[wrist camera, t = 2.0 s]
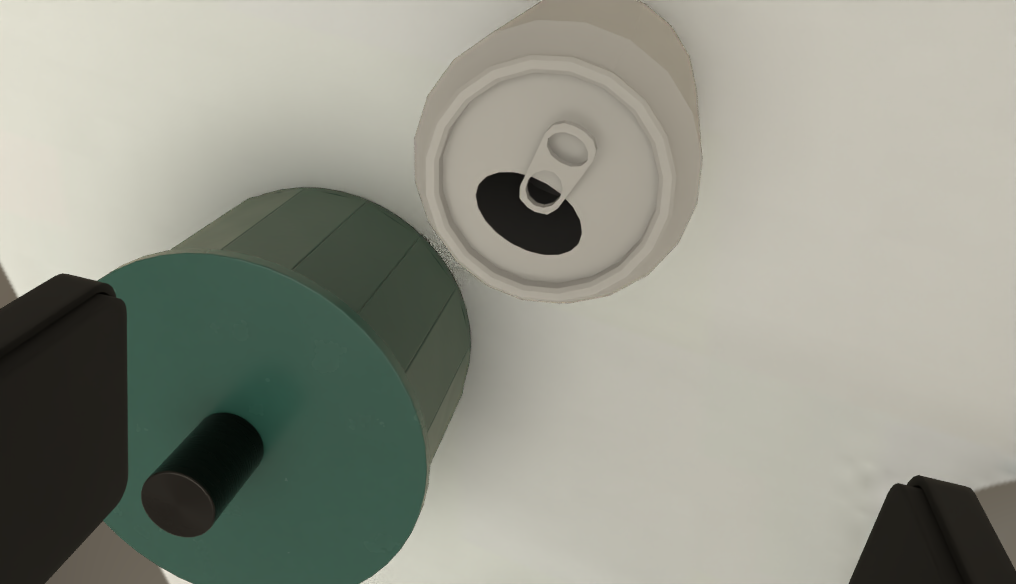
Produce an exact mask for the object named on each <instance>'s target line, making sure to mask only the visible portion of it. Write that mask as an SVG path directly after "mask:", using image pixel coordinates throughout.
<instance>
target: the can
mask: <svg viewBox="0 0 1016 584" xmlns="http://www.w3.org/2000/svg"><path fill="white" fill-rule="evenodd" d="M414 145H415V183H416V186H417V189H418V192H419V195H420V198H421V201H422V204H423V207H424V210H425V213H426V216H427V219H428V222H429V223H430V225H431V226H432V228H433V229H434V231H435V232H436V233H437V235H438V236H439V238H440V239H441V240H442V242H443V243H444V245H445V246H446V248H447V249H448V250H449V252H450V253H451V255H452V256H453V257H454V259H455V260H456V261H457V262H458V263H459V264H460V265H461V266H463V267H464V268H465V269H466V270H468V271H469V272H470V273H471V274H473V275H474V276H475V277H477V278H478V279H479V280H480V281H482V282H483V283H484V284H485V285H487V286H489V287H492V288H494V289H497V290H499V291H501V292H504V293H506V294H509V295H511V296H514V297H516V298H519V299H521V300H530V301H540V302H550V303H574V302H579V301H584V300H589V299H594V298H599V297H604V296H609V295H612V294H614V293H615V292H617V291H619V290H621V289H623V288H625V287H627V286H628V285H630V284H632V283H634V282H636V281H638V280H640V279H641V278H643V277H645V276H647V275H648V274H649V273H650V272H651V271H652V270H653V269H654V268H655V267H656V266H657V265H658V264H659V263H660V262H661V261H662V260H663V259H664V258H665V257H666V256H667V255H668V254H669V253H670V251H671V250H672V249H673V248H674V247H675V246H676V245H677V244H678V243H679V241H680V239H681V236H682V234H683V232H684V230H685V228H686V226H687V224H688V222H689V220H690V217H691V215H692V213H693V211H694V209H695V207H696V205H697V200H698V192H699V183H700V175H701V166H702V148H701V136H700V124H699V113H698V101H697V90H696V85H695V80H694V76H693V71H692V66H691V62H690V57H689V55H688V53H687V52H686V50H685V48H684V47H683V45H682V43H681V41H680V40H679V38H678V36H677V35H676V33H675V31H674V30H673V28H672V26H670V25H669V24H668V23H667V22H666V21H665V20H663V19H662V18H661V17H660V16H659V15H658V14H656V13H655V12H654V11H653V10H652V9H651V8H649V7H648V6H647V5H646V4H644V3H642V2H639V1H637V0H543V1H541V2H540V3H538V4H537V5H535V6H534V7H532V8H530V9H529V10H527V11H526V12H524V13H522V14H521V15H519V16H518V17H516V18H515V19H513V20H511V21H510V22H508V23H507V24H505V25H503V26H502V27H500V28H499V29H497V30H496V31H494V32H492V33H491V34H489V35H488V36H487V37H485V38H484V39H482V40H481V41H480V42H478V43H477V44H475V45H474V46H472V47H471V48H470V49H468V50H467V51H465V52H464V53H462V54H461V55H460V56H458V57H457V58H455V59H454V60H453V61H452V63H451V64H450V66H449V67H448V68H447V70H446V71H445V72H444V74H443V75H442V77H441V78H440V79H439V81H438V82H437V83H436V85H435V86H434V88H433V89H432V90H431V92H430V93H429V94H428V96H427V99H426V102H425V105H424V109H423V112H422V115H421V118H420V121H419V125H418V128H417V131H416V134H415V138H414Z"/></svg>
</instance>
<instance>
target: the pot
mask: <svg viewBox="0 0 1016 584" xmlns="http://www.w3.org/2000/svg"><path fill="white" fill-rule="evenodd" d="M189 248H200V249H220V250H226V251H232V252H238V253H244V254H248V255H251V256H255V257H258V258H262V259H265V260H268V261H272V262H274V263H277V264H279V265H281V266H284V267H286V268H288V269H291V270H293V271H295V272H298V273H300V274H301V275H303V276H305V277H307V278H308V279H310V280H312V281H314V282H315V283H317V284H319V285H321V286H322V287H324V288H326V289H327V290H328V291H330V292H331V293H332V294H334V295H335V296H337V297H338V298H339V299H341V300H342V301H343V302H345V303H346V304H347V305H349V306H350V307H351V308H352V309H353V310H354V311H355V312H356V313H357V314H358V315H360V316H361V317H362V318H363V319H364V320H365V321H366V322H367V323H368V324H369V325H370V326H371V327H372V328H373V329H374V331H375V332H376V333H377V334H378V335H379V336H380V338H381V339H382V340H383V341H384V342H385V343H386V344H387V346H388V347H389V349H390V350H391V352H392V353H393V354H394V356H395V357H396V359H397V360H398V362H399V363H400V365H401V366H402V368H403V370H404V372H405V373H406V375H407V377H408V379H409V381H410V383H411V385H412V387H413V389H414V391H415V394H416V396H417V399H418V402H419V405H420V407H421V410H422V413H423V416H424V420H425V425H426V430H427V434H428V439H429V452H430V464H431V462H432V459H433V457H434V455H435V453H436V451H437V449H438V446H439V444H440V442H441V440H442V438H443V435H444V433H445V431H446V429H447V427H448V424H449V422H450V420H451V418H452V416H453V413H454V411H455V409H456V407H457V405H458V402H459V400H460V398H461V396H462V393H463V387H464V382H465V378H466V374H467V370H468V366H469V360H470V350H471V341H470V327H469V321H468V316H467V311H466V308H465V305H464V302H463V298H462V295H461V292H460V290H459V288H458V286H457V284H456V282H455V280H454V278H453V276H452V274H451V272H450V271H449V269H448V268H447V266H446V265H445V263H444V262H443V260H442V258H441V257H440V256H439V255H438V253H437V252H436V251H435V250H434V249H433V247H432V246H431V245H430V244H429V243H428V242H427V241H426V240H425V239H424V238H423V237H422V236H421V235H420V234H419V233H418V232H417V231H416V230H415V229H414V228H413V227H411V226H410V225H409V224H407V223H406V222H405V221H403V220H402V219H401V218H399V217H398V216H397V215H395V214H393V213H391V212H390V211H388V210H386V209H385V208H383V207H381V206H379V205H377V204H375V203H373V202H370V201H368V200H366V199H363V198H361V197H358V196H355V195H351V194H348V193H344V192H341V191H336V190H329V189H323V188H291V189H282V190H278V191H274V192H270V193H266V194H263V195H261V196H258V197H252V198H249V199H247V200H245V201H244V202H242V203H241V204H239V205H238V206H236V207H235V208H233V209H232V210H230V211H229V212H227V213H226V214H224V215H223V216H221V217H219V218H218V219H216V220H215V221H213V222H212V223H210V224H209V225H207V226H206V227H204V228H203V229H201V230H200V231H198V232H197V233H195V234H194V235H192V236H191V237H189V238H188V239H186V240H185V241H183V242H182V243H180V244H179V245H177V246H176V247H174V248H172V249H171V250H179V249H189Z"/></svg>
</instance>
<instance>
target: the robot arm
mask: <svg viewBox="0 0 1016 584" xmlns="http://www.w3.org/2000/svg"><path fill="white" fill-rule="evenodd" d="M127 482H128V382H127V310H126V305H125V303H124V301H123V300H122V299H120V298H116V294H115V291H114V289H113V287H112V286H110V285H109V284H107V283H103V282H99V281H95V280H90V279H86V278H82V277H78V276H73V275H69V274H63V273H62V274H59V275H57V276H54V277H53V278H51V279H49V280H48V281H46V282H44V283H43V284H41V285H39V286H38V287H36V288H34V289H33V290H31V291H29V292H28V293H26V294H24V295H23V296H21V297H19V298H18V299H16V300H14V301H12V302H11V303H9V304H7V305H6V306H4V307H3V308H1V309H0V584H45V583H46V582H47V581H48V580H49V578H50V577H51V576H52V575H53V574H54V573H55V572H56V571H57V570H58V569H59V568H60V567H61V565H62V564H63V563H64V562H65V561H66V560H67V559H68V558H69V557H70V556H71V555H72V554H73V553H74V551H75V550H76V549H77V548H78V547H79V546H80V545H81V544H82V543H83V542H84V541H85V540H86V538H87V537H88V536H89V535H90V534H91V533H92V532H93V531H94V530H95V529H96V528H97V527H98V526H99V524H100V523H101V522H102V521H103V520H104V519H105V518H106V517H107V516H108V515H109V514H110V513H111V511H112V510H113V509H114V508H115V507H116V506H117V505H118V503H119V502H120V500H121V498H122V497H123V494H124V492H125V489H126V486H127ZM849 584H1016V571H1015V569H1014V567H1013V565H1012V563H1011V561H1010V559H1009V557H1008V556H1007V554H1006V552H1005V550H1004V548H1003V546H1002V544H1001V542H1000V540H999V539H998V536H997V535H996V533H995V531H994V529H993V527H992V525H991V523H990V521H989V519H988V518H987V516H986V514H985V512H984V510H983V508H982V506H981V504H980V502H979V500H978V498H977V497H976V495H975V493H974V492H973V491H972V489H971V488H969V487H966V486H962V485H958V484H953V483H949V482H945V481H941V480H936V479H932V478H928V477H924V476H920V475H917V476H915V477H913V478H912V479H911V480H910V481H909V482H908V484H907V485H903V484H899V483H897V484H894V485H893V486H892V488H891V489H890V491H889V492H888V494H887V497H886V499H885V501H884V503H883V506H882V508H881V510H880V513H879V515H878V517H877V520H876V522H875V524H874V526H873V529H872V531H871V533H870V536H869V538H868V540H867V543H866V545H865V547H864V549H863V552H862V554H861V556H860V559H859V561H858V563H857V566H856V568H855V570H854V572H853V575H852V577H851V579H850V582H849Z"/></svg>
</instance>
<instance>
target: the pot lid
mask: <svg viewBox="0 0 1016 584" xmlns="http://www.w3.org/2000/svg"><path fill="white" fill-rule="evenodd" d="M98 281H99V282H103V283H107V284H109V285H110V286H112V287H113V289H114V291H115V294H116V298H120V299H122V300H123V301H124V303H125V305H126V310H127V382H128V482H127V486H126V489H125V492H124V494H123V497H122V498H121V500H120V502H119V503H118V505H117V506H116V507H115V508H114V509H113V510H112V511H111V513H110V514H109V515H108V516H107V517H106V518H105V519H104V520H103V521H104V522H105V523H106V524H107V525H108V526H109V527H110V528H111V529H112V530H113V531H114V532H115V533H116V534H117V535H118V536H119V537H120V538H121V539H123V540H124V541H125V542H126V543H127V544H129V545H130V546H131V547H132V548H134V549H135V550H136V551H137V552H139V553H140V554H141V555H143V556H144V557H146V558H147V559H149V560H150V561H152V562H153V563H155V564H156V565H158V566H159V567H161V568H163V569H165V570H167V571H168V572H170V573H172V574H174V575H176V576H177V577H179V578H181V579H184V580H186V581H188V582H191V583H193V584H359V583H361V582H363V581H365V580H366V579H368V578H370V577H372V576H373V575H374V574H375V573H377V572H378V571H379V570H380V569H382V568H383V567H384V566H385V565H387V564H388V563H389V562H390V560H391V559H392V558H393V557H394V556H395V555H396V554H397V553H398V552H399V551H400V549H401V548H402V547H403V545H404V544H405V542H406V540H407V539H408V537H409V536H410V534H411V533H412V531H413V528H414V526H415V524H416V522H417V519H418V517H419V515H420V512H421V510H422V507H423V505H424V501H425V497H426V493H427V489H428V484H429V472H430V452H429V439H428V434H427V430H426V425H425V420H424V416H423V413H422V410H421V407H420V405H419V402H418V399H417V396H416V394H415V391H414V389H413V387H412V385H411V383H410V381H409V379H408V377H407V375H406V373H405V372H404V370H403V368H402V366H401V365H400V363H399V362H398V360H397V359H396V357H395V356H394V354H393V353H392V352H391V350H390V349H389V347H388V346H387V344H386V343H385V342H384V341H383V340H382V339H381V338H380V336H379V335H378V334H377V333H376V332H375V331H374V329H373V328H372V327H371V326H370V325H369V324H368V323H367V322H366V321H365V320H364V319H363V318H362V317H361V316H360V315H358V314H357V313H356V312H355V311H354V310H353V309H352V308H351V307H350V306H349V305H347V304H346V303H345V302H343V301H342V300H341V299H339V298H338V297H337V296H335V295H334V294H332V293H331V292H330V291H328V290H327V289H326V288H324V287H322V286H321V285H319V284H317V283H315V282H314V281H312V280H310V279H308V278H307V277H305V276H303V275H301V274H300V273H298V272H295V271H293V270H291V269H288V268H286V267H284V266H281V265H279V264H277V263H274V262H272V261H268V260H265V259H262V258H258V257H255V256H251V255H248V254H244V253H238V252H232V251H226V250H220V249H200V248H189V249H179V250H168V251H163V252H159V253H155V254H151V255H147V256H143V257H141V258H138V259H136V260H133V261H131V262H129V263H126V264H124V265H122V266H120V267H118V268H117V269H115V270H114V271H112V272H110V273H109V274H107V275H106V276H104V277H102V278H101V279H99V280H98Z"/></svg>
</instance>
